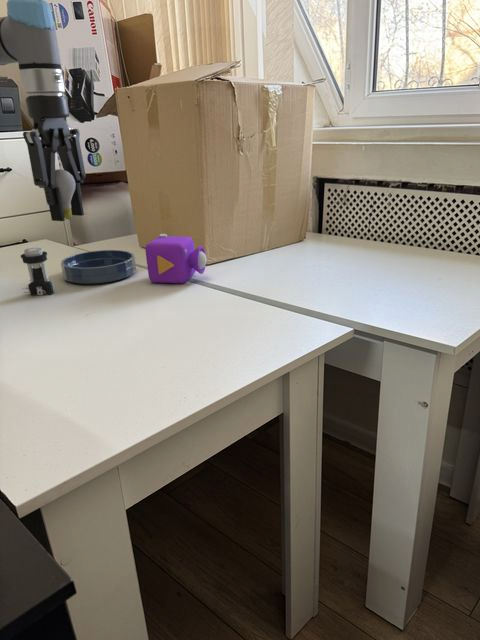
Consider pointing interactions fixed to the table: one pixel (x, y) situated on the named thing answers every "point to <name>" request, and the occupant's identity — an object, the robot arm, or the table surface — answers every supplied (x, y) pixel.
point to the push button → (37, 272)
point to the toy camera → (174, 259)
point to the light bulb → (65, 190)
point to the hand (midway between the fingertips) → (68, 217)
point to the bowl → (98, 266)
